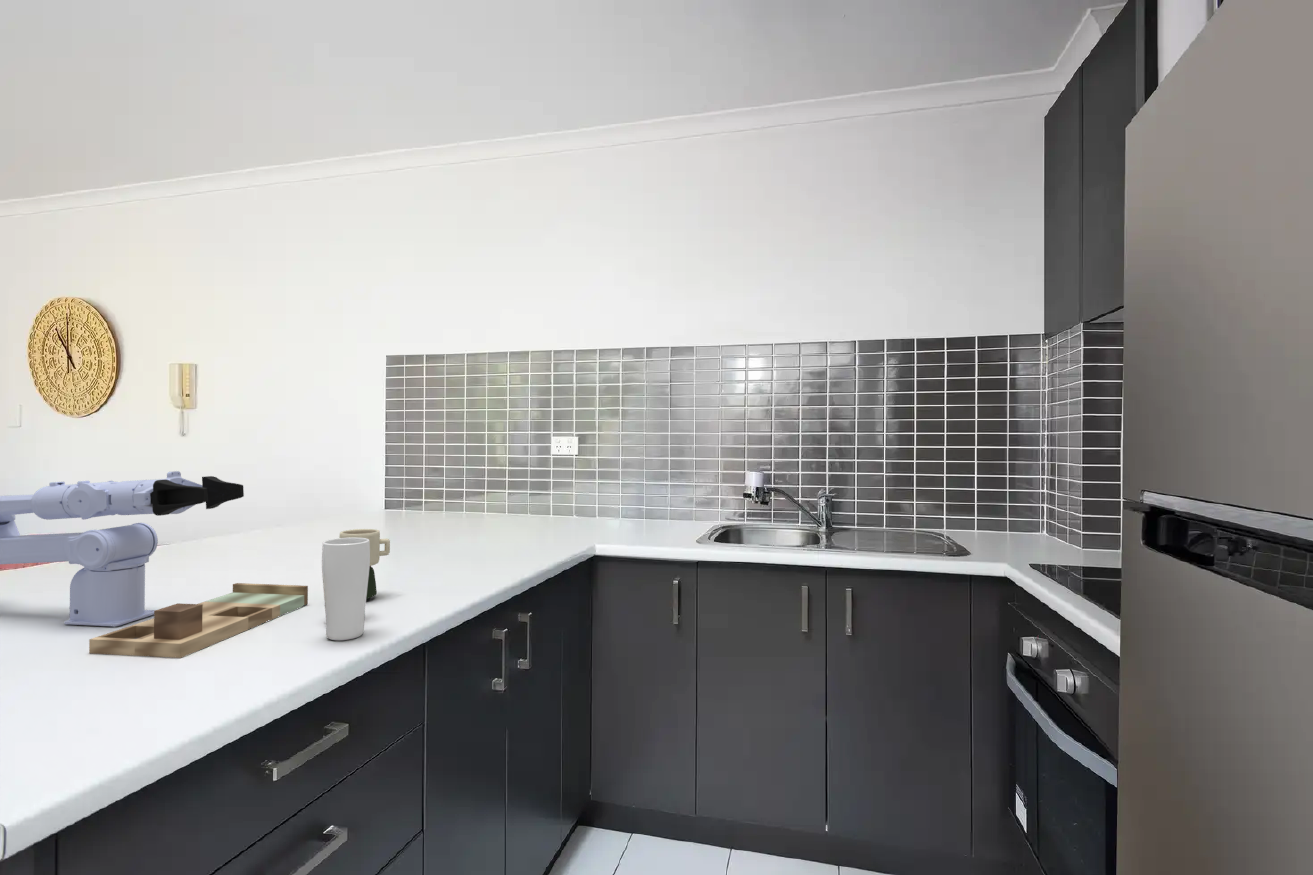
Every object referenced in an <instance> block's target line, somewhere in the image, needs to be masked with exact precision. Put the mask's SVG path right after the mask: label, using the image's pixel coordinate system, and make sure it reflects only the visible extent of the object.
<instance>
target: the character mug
mask: <svg viewBox="0 0 1313 875" xmlns="http://www.w3.org/2000/svg"><path fill="white" fill-rule="evenodd" d="M380 531H381V530H380V529H376V528H375V529H373V528H356V529H355V528H354V529H348V530H343V531H340V532H339V536H338V537H339V538H366V539H369V541H370V567H369V577H368V587H367V596H366V600H368V599H370V598H373V597H375V596H376V595H378V594H377V583H376V582H377V581H376V575H375V574H376V573H375V570H374V568H373V566H374V565H375V566H376V565H377V564H379V562H380V557H383V556H389V555H390V552H391V551H390V550H391V540H390V538H381V533H380ZM383 544H384V550H381V549H380V548H381V547H380V546H381V545H383Z"/></svg>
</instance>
